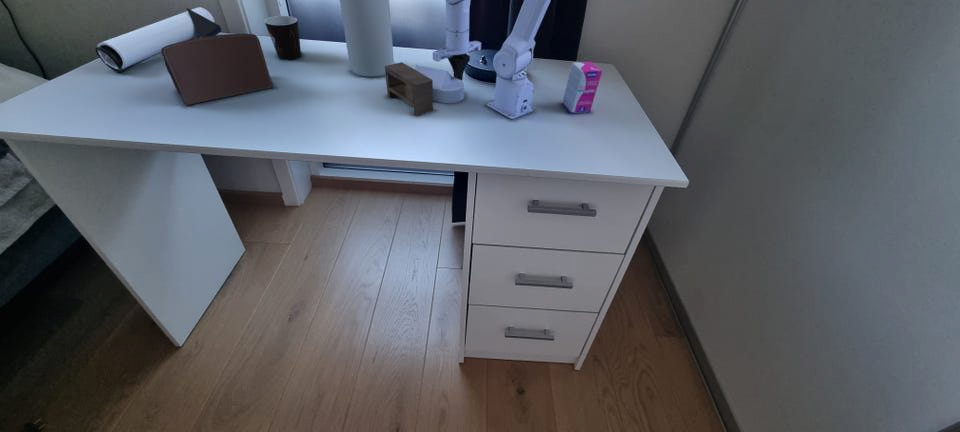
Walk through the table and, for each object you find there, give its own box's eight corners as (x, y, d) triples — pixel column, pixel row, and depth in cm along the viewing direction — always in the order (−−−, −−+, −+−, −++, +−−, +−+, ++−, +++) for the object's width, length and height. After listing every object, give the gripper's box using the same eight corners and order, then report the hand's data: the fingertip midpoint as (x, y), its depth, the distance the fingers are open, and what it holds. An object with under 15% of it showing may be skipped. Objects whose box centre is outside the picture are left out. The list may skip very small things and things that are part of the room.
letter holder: (274, 88, 102) (257, 30, 93) (186, 106, 92) (157, 44, 82) (261, 74, 107) (244, 19, 98) (176, 90, 97) (148, 30, 88)
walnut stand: (433, 110, 99) (432, 79, 93) (416, 116, 96) (415, 84, 91) (403, 91, 105) (401, 61, 100) (387, 96, 103) (384, 66, 97)
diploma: (122, 87, 104) (143, 61, 97) (86, 56, 99) (106, 26, 93) (213, 43, 130) (234, 21, 123) (187, 17, 125) (208, -8, 119)
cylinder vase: (373, 81, 109) (361, -22, 92) (341, 69, 113) (323, -31, 97) (403, 68, 117) (397, -29, 100) (371, 57, 121) (360, -38, 105)
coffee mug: (275, 51, 120) (265, 16, 113) (305, 50, 122) (297, 15, 116) (272, 66, 112) (261, 29, 105) (304, 64, 114) (296, 28, 107)
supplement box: (571, 114, 102) (581, 71, 95) (561, 104, 106) (571, 61, 99) (590, 113, 104) (603, 70, 96) (580, 102, 108) (591, 60, 100)
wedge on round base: (410, 96, 104) (457, 105, 102) (409, 71, 99) (458, 80, 97) (423, 83, 110) (467, 91, 108) (422, 59, 106) (469, 67, 104)
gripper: (469, 20, 104) (468, 70, 113) (424, 29, 96) (427, 83, 106) (487, 27, 100) (484, 79, 109) (441, 37, 93) (443, 92, 102)
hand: (457, 81), depth 107 cm, fingers closed, pressing on wedge on round base
